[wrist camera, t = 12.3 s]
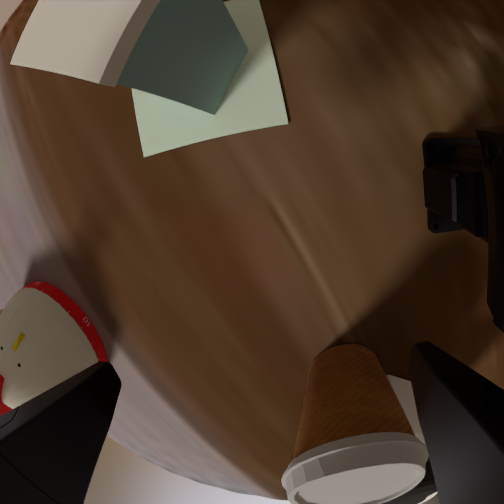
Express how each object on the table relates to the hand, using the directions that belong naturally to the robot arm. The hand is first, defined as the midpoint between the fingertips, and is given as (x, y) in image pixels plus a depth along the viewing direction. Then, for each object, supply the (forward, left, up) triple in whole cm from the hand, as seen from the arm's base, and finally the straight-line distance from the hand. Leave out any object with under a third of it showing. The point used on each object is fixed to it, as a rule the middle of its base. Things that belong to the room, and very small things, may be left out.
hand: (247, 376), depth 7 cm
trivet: (+3, -12, -13) cm, 18 cm away
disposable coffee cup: (-4, +13, -13) cm, 19 cm away
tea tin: (+3, -12, -13) cm, 18 cm away
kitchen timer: (+26, +8, -13) cm, 30 cm away
